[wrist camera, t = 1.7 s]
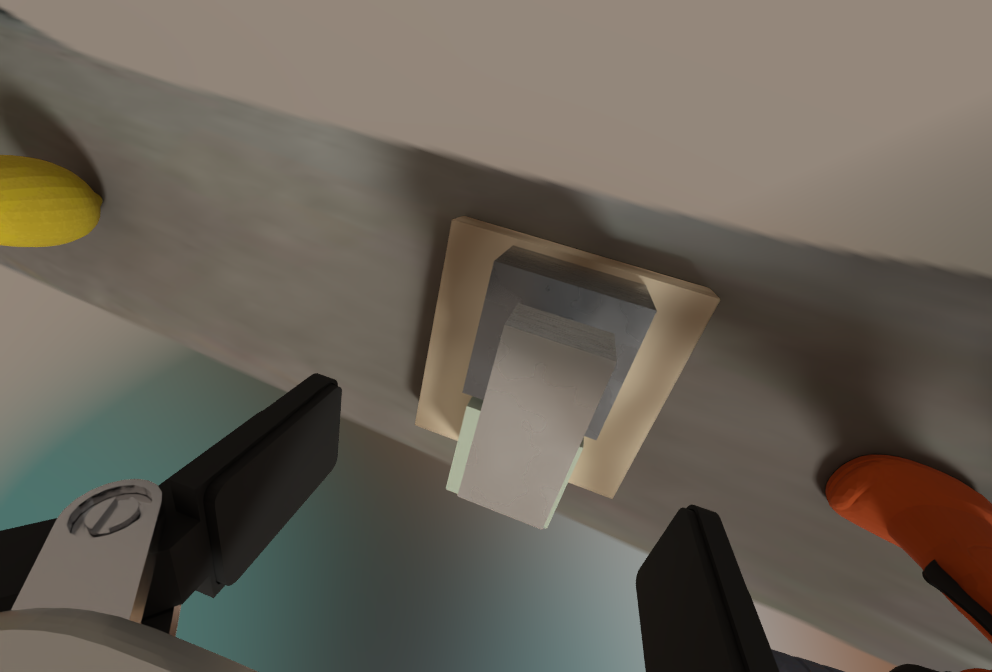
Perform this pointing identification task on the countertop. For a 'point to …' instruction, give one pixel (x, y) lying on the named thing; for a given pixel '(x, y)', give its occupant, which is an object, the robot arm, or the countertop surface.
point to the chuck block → (561, 314)
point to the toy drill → (919, 534)
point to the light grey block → (535, 412)
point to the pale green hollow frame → (465, 445)
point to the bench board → (643, 387)
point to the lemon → (43, 203)
